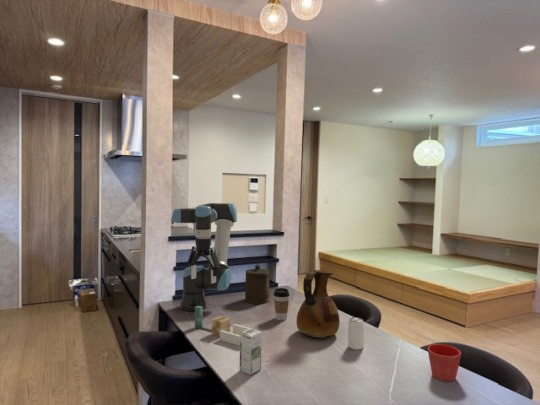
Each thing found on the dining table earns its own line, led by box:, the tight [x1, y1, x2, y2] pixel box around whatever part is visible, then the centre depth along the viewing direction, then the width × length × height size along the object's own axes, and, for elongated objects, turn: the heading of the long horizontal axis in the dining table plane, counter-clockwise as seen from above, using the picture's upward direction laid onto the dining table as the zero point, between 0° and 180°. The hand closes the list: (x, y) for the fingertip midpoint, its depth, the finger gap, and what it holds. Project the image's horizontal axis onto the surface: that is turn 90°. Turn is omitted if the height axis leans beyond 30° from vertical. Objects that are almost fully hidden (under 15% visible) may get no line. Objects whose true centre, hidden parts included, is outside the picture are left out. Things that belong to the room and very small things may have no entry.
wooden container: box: [244, 264, 271, 305], centre depth 222 cm, size 15×15×22 cm
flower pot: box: [427, 343, 462, 382], centre depth 131 cm, size 11×11×10 cm
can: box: [347, 316, 365, 351], centre depth 155 cm, size 6×6×12 cm
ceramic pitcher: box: [296, 269, 340, 339], centre depth 169 cm, size 20×20×30 cm
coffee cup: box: [273, 287, 290, 321], centre depth 190 cm, size 8×8×15 cm
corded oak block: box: [194, 306, 231, 338], centre depth 172 cm, size 19×6×10 cm, turn 58°
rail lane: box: [219, 323, 260, 347], centre depth 162 cm, size 14×10×4 cm
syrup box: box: [239, 327, 263, 376], centre depth 134 cm, size 6×6×14 cm
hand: (203, 280), depth 178 cm, fingers open, 13 cm apart
